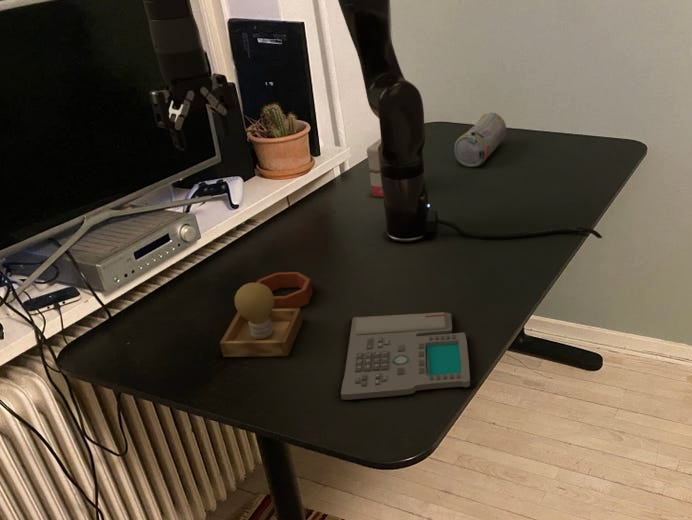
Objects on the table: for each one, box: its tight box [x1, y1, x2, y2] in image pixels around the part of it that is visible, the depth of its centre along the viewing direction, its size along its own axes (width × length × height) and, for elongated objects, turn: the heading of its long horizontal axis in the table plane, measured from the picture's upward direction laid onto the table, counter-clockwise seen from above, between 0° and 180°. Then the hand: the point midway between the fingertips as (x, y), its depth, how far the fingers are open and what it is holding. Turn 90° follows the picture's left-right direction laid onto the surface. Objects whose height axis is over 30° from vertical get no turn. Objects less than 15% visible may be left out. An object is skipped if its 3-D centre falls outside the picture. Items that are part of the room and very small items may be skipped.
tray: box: [219, 307, 304, 358], centre depth 126 cm, size 11×11×3 cm
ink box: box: [366, 138, 383, 198], centre depth 179 cm, size 9×5×12 cm, turn 161°
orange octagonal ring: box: [255, 271, 314, 309], centre depth 138 cm, size 10×10×3 cm
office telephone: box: [340, 311, 471, 401], centre depth 121 cm, size 23×3×20 cm
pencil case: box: [453, 112, 507, 168], centre depth 198 cm, size 21×9×10 cm, turn 160°
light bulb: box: [234, 282, 275, 339], centre depth 124 cm, size 6×6×10 cm
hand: (204, 143), depth 129 cm, fingers open, 8 cm apart
